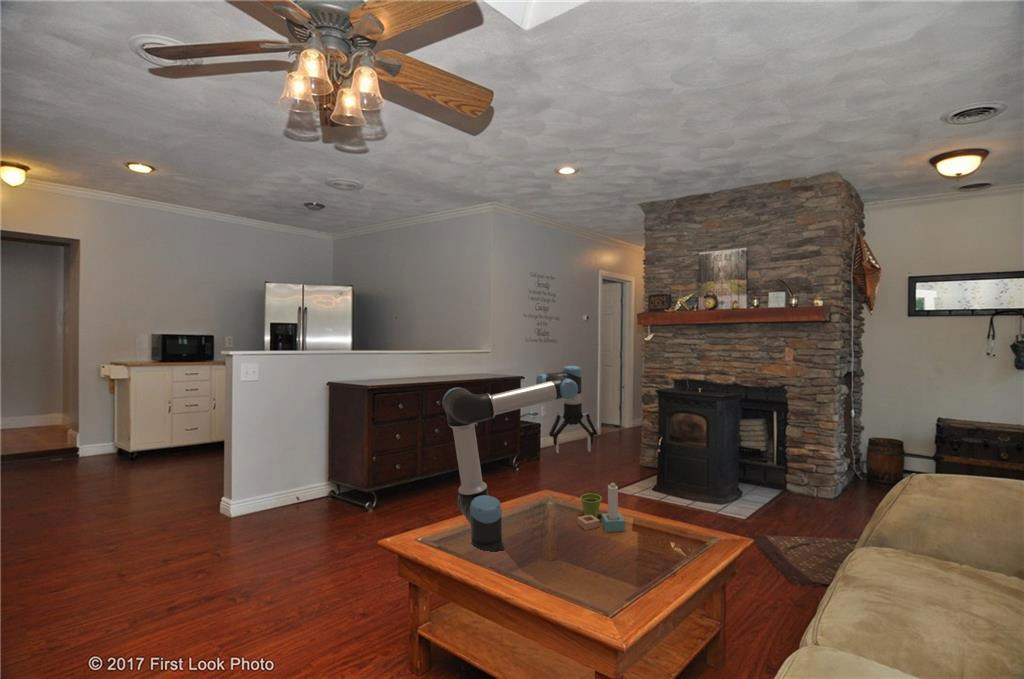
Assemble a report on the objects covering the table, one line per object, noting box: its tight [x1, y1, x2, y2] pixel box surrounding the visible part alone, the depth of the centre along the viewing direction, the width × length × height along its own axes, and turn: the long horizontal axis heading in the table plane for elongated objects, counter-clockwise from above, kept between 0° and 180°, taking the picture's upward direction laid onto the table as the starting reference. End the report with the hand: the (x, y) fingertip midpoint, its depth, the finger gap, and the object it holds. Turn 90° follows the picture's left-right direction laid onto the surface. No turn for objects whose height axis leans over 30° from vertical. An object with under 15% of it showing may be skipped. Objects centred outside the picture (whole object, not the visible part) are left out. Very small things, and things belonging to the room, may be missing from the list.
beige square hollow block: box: [576, 514, 601, 531], centre depth 240 cm, size 7×7×3 cm
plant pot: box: [579, 493, 603, 518], centre depth 248 cm, size 9×9×9 cm
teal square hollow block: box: [601, 512, 626, 533], centre depth 237 cm, size 8×8×4 cm
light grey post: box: [607, 482, 619, 520], centre depth 236 cm, size 3×3×20 cm
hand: (573, 451), depth 237 cm, fingers open, 13 cm apart
